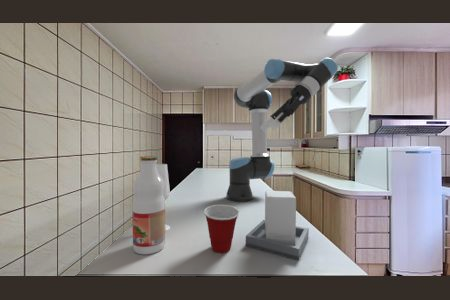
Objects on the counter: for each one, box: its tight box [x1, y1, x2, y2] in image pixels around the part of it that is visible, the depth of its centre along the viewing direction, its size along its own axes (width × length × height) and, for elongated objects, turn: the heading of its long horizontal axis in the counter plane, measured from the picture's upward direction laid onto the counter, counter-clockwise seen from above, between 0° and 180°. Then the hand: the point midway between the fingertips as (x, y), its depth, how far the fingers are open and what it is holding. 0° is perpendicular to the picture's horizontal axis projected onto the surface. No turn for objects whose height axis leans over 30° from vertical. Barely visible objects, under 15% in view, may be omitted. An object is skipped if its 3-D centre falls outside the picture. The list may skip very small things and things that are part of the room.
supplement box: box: [264, 190, 297, 246], centre depth 69 cm, size 9×9×15 cm
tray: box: [245, 219, 309, 261], centre depth 70 cm, size 16×16×3 cm
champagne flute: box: [156, 163, 171, 232], centre depth 79 cm, size 7×7×24 cm
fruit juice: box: [131, 155, 166, 255], centre depth 65 cm, size 9×9×28 cm
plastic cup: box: [203, 204, 240, 254], centre depth 65 cm, size 11×11×12 cm
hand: (266, 128), depth 84 cm, fingers open, 13 cm apart
